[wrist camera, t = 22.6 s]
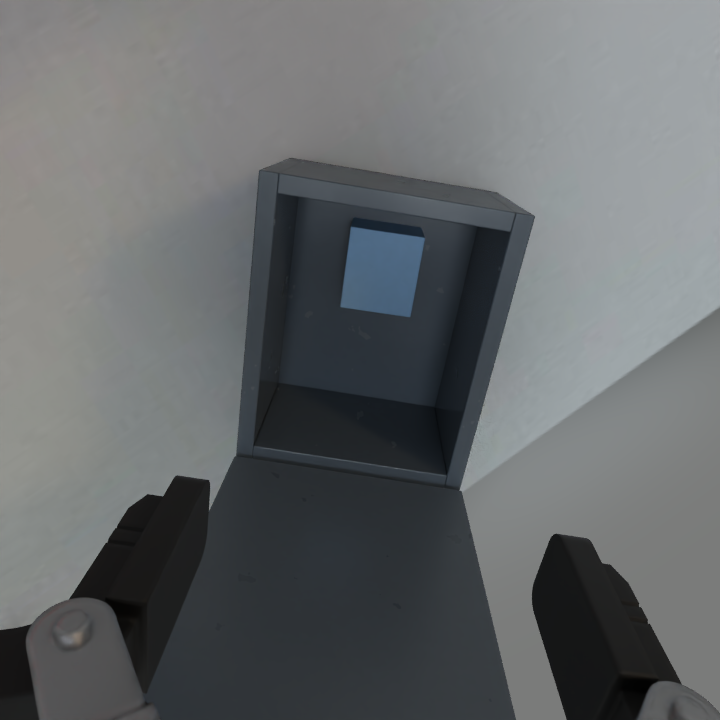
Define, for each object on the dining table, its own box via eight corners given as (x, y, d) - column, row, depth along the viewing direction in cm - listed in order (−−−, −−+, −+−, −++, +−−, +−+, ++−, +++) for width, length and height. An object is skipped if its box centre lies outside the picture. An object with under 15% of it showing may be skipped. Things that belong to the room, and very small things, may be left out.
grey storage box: (289, 157, 37) (258, 169, 28) (497, 192, 37) (535, 215, 28) (266, 386, 44) (235, 457, 34) (443, 413, 44) (459, 491, 35)
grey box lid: (95, 755, 17) (98, 860, 19) (539, 816, 18) (498, 913, 20) (234, 455, 34) (228, 528, 36) (461, 490, 34) (443, 560, 36)
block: (353, 217, 37) (350, 226, 34) (421, 227, 37) (425, 237, 34) (343, 291, 39) (339, 307, 36) (408, 301, 39) (410, 317, 36)
